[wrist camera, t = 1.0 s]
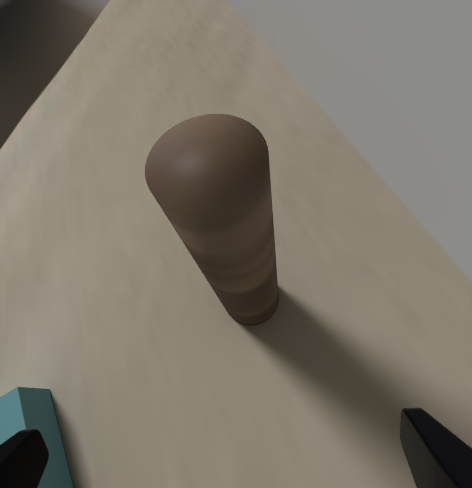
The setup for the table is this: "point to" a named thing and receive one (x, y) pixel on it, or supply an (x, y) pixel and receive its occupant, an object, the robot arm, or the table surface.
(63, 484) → the holder block
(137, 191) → the table surface
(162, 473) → the table surface
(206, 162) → the peg
